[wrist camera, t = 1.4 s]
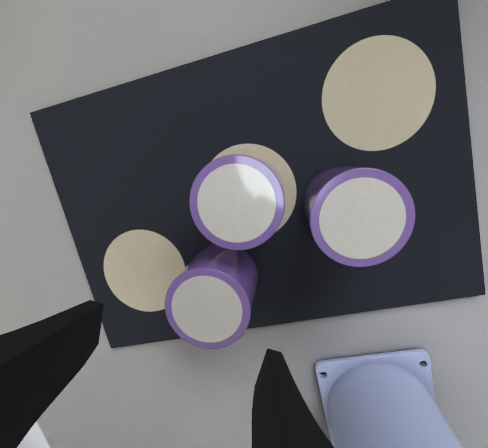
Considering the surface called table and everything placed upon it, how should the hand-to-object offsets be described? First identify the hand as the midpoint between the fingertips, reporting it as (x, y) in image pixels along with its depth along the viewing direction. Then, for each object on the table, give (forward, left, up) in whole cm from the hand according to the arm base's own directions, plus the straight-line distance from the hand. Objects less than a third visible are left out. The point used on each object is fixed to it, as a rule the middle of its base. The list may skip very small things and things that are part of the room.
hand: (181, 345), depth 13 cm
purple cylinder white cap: (+3, -9, -9) cm, 13 cm away
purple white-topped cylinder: (+5, -3, -9) cm, 11 cm away
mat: (+4, -3, -10) cm, 11 cm away
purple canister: (-1, 0, -9) cm, 9 cm away
